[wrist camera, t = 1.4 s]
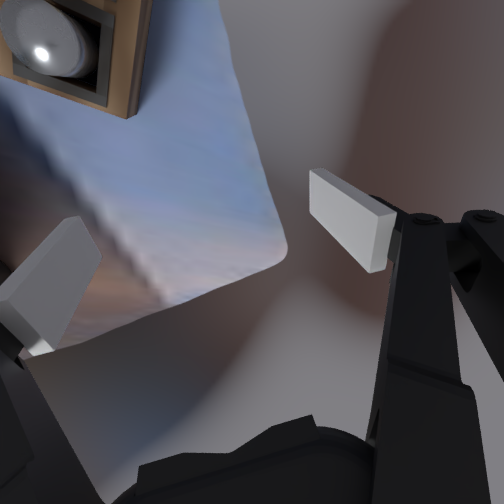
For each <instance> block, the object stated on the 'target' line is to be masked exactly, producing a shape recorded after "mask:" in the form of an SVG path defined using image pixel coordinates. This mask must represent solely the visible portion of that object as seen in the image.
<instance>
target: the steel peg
mask: <svg viewBox="0 0 504 504" xmlns="http://www.w3.org/2000/svg"><path fill="white" fill-rule="evenodd" d="M0 28H1V32H2V35H3V37H4V39H5V41H6V43H7V45H8V47H9V48H10V50H11V51H12V52H13V54H14V55H15V56H16V57H17V58H18V59H19V60H20V61H21V62H22V63H23V64H25V65H26V66H27V67H29V68H30V69H32V70H34V71H36V72H38V73H41V74H45V75H51V76H62V77H73V78H85V77H88V76H90V75H92V74H93V73H94V72H95V71H96V69H97V67H98V62H99V51H98V47H97V44H96V42H95V40H94V38H93V36H92V35H91V33H90V32H89V31H88V30H87V28H86V27H85V26H83V25H82V24H81V23H80V22H78V21H77V20H75V19H74V18H72V17H70V16H69V15H67V14H65V13H64V12H62V11H60V10H59V9H57V8H55V7H54V6H52V5H51V4H49V3H47V2H46V1H44V0H5V2H4V3H3V5H2V6H1V9H0Z"/></svg>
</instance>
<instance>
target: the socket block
mask: <svg viewBox="0 0 504 504" xmlns="http://www.w3.org/2000/svg"><path fill="white" fill-rule="evenodd" d="M44 1H46V2H47V3H49V4H51V5H52V6H54V7H55V8H57V9H60V10H62V11H64V12H67V13H69V14H71V15H73V16H75V17H78V18H80V19H82V20H84V21H86V22H89V23H91V24H93V25H95V26H97V27H100V28H101V35H100V48H99V62H98V76H97V86H95V85H92V84H89V83H87V82H84V81H81V80H79V79H76V78H73V77H62V76H51V75H45V74H41V73H38V72H36V71H34V70H32V69H30V68H29V67H27V66H26V65H25V64H23V63H22V62H21V61H20V60H19V59H18V58H17V57H16V56H15V55H14V54H13V52H12V51H11V50H10V48H9V47H8V45H7V43H6V41H5V39H4V37H3V35H2V32H1V28H0V75H1V76H4V77H7V78H10V79H13V80H16V81H18V82H21V83H24V84H27V85H30V86H33V87H35V88H38V89H41V90H44V91H47V92H50V93H52V94H55V95H58V96H61V97H64V98H67V99H69V100H72V101H75V102H78V103H81V104H84V105H87V106H89V107H92V108H95V109H98V110H101V111H104V112H106V113H109V114H112V115H115V116H118V117H121V118H123V119H128V118H130V117H132V116H134V115H136V114H137V108H138V101H139V94H140V87H141V80H142V73H143V66H144V59H145V52H146V45H147V38H148V31H149V24H150V17H151V10H152V3H153V0H44ZM4 2H5V0H0V9H1V6H2V5H3V3H4Z"/></svg>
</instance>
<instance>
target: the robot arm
mask: <svg viewBox="0 0 504 504" xmlns="http://www.w3.org/2000/svg"><path fill="white" fill-rule="evenodd" d="M310 213H311V214H312V215H313V216H314V217H315V218H316V219H317V220H318V221H319V222H320V223H321V224H322V225H323V226H324V227H325V229H327V231H328V232H329V233H330V234H331V235H332V236H333V237H334V238H335V239H336V240H337V241H338V242H339V243H340V244H341V245H342V246H343V247H344V248H345V249H346V250H347V251H348V252H349V253H350V254H351V255H352V256H353V257H354V258H355V259H356V260H357V261H358V262H359V263H360V264H361V265H362V267H363V268H364V269H365V270H366V271H367V272H368V273H372V272H376V271H380V270H384V269H385V267H386V263H387V258H389V259H390V260H391V261H392V262H393V263H394V265H393V269H392V274H391V278H390V282H389V283H390V288H389V295H388V302H387V309H386V315H385V322H384V328H383V335H382V341H381V348H380V354H379V361H378V368H377V374H376V382H375V388H374V394H373V401H372V408H371V414H370V419H369V424H368V429H367V434H366V440H365V441H363V440H362V439H360V438H358V437H356V436H354V435H352V434H350V433H347V432H345V431H342V430H338V429H335V428H329V427H320V426H318V427H317V426H316V424H315V422H314V419H313V416H312V415H308V416H304V417H301V418H298V419H294V420H291V421H288V422H284V423H281V424H278V425H274V426H271V427H270V428H268V429H267V430H265V431H264V432H262V433H261V434H259V435H258V436H256V437H254V438H253V439H251V440H250V441H249V442H247V443H245V444H244V445H242V446H241V447H239V448H238V449H236V450H235V451H233V452H230V453H181V454H177V455H174V456H171V457H168V458H164V459H161V460H157V461H154V462H151V463H147V464H144V465H141V466H139V469H138V470H139V471H138V478H137V483H135V484H134V485H132V486H131V487H130V488H129V489H127V490H126V491H125V492H123V493H122V494H121V495H120V496H119V497H118V498H117V499H116V500H115V501H114V502H113V503H112V504H491V500H490V493H489V486H488V480H487V472H486V465H485V459H484V453H483V445H482V438H481V431H480V424H479V418H478V410H477V405H476V399H475V395H474V392H473V390H472V388H471V387H470V386H468V385H465V384H463V383H462V381H461V375H460V366H459V357H458V348H457V339H456V330H455V320H454V311H453V302H452V293H451V285H452V287H453V289H454V290H455V292H456V294H457V296H458V297H459V300H460V302H461V303H462V305H463V307H464V309H465V310H466V313H467V315H468V316H469V318H470V320H471V322H472V324H473V325H474V328H475V329H476V331H477V333H478V335H479V337H480V339H481V340H482V343H483V344H484V346H485V348H486V350H487V352H488V354H489V356H490V357H491V359H492V361H493V363H494V365H495V367H496V368H497V370H498V372H499V374H500V376H501V378H502V380H503V382H504V215H502V214H499V213H496V212H495V211H491V210H490V211H489V210H470V211H467V212H465V213H464V215H463V217H462V220H461V222H460V223H444V222H443V220H442V219H440V218H439V217H437V216H434V215H431V214H425V213H414V214H408V213H406V212H404V211H403V210H401V209H399V208H397V207H396V206H393V205H392V204H390V203H389V202H387V201H385V200H383V199H382V198H380V197H376V196H373V195H367V194H365V193H363V192H362V191H360V190H358V189H357V188H355V187H353V186H352V185H350V184H348V183H347V182H345V181H343V180H342V179H340V178H338V177H337V176H335V175H333V174H332V173H330V172H328V171H327V170H325V169H323V168H318V169H313V170H310ZM101 259H102V255H101V253H100V252H99V250H98V248H97V246H96V244H95V243H94V241H93V239H92V237H91V236H90V234H89V232H88V230H87V229H86V227H85V225H84V223H83V221H82V220H81V218H80V216H75V217H70V218H65V219H64V220H63V221H62V222H61V223H60V224H59V225H58V226H57V227H56V228H55V229H54V230H53V231H52V232H51V233H50V234H49V235H48V236H47V237H46V239H45V240H44V241H43V242H42V243H41V244H40V245H39V246H38V247H37V248H36V249H35V250H34V251H33V252H32V253H31V254H30V255H29V256H28V257H27V258H26V259H25V261H24V262H23V263H22V264H21V265H20V266H19V267H18V268H17V269H16V270H15V271H14V272H13V273H11V271H10V270H9V269H8V267H7V266H6V265H5V264H4V263H2V262H1V261H0V504H105V503H104V502H103V501H102V499H101V498H100V497H99V495H98V493H97V492H96V490H95V488H94V486H93V484H92V483H91V481H90V479H89V477H88V475H87V474H86V472H85V470H84V468H83V466H82V465H81V463H80V461H79V459H78V457H77V456H76V454H75V452H74V450H73V448H72V447H71V445H70V443H69V441H68V439H67V437H66V436H65V434H64V432H63V430H62V428H61V427H60V425H59V423H58V421H57V419H56V418H55V416H54V414H53V412H52V411H51V409H50V407H49V405H48V403H47V401H46V400H45V398H44V396H43V394H42V392H41V390H40V389H39V387H38V385H37V383H36V382H35V380H34V378H33V376H32V374H31V372H30V371H29V369H28V367H27V365H26V363H25V362H24V360H22V359H21V358H20V357H19V356H18V354H19V353H20V351H21V350H22V348H23V347H25V348H26V349H27V350H28V351H29V352H30V353H31V354H32V355H33V356H36V355H40V354H44V353H48V352H52V351H55V349H56V347H57V345H58V343H59V341H60V339H61V337H62V335H63V333H64V331H65V329H66V327H67V326H68V324H69V322H70V320H71V318H72V316H73V314H74V312H75V310H76V308H77V306H78V304H79V302H80V300H81V298H82V296H83V294H84V292H85V290H86V288H87V286H88V284H89V283H90V281H91V279H92V277H93V275H94V273H95V271H96V269H97V267H98V265H99V263H100V261H101Z"/></svg>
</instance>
